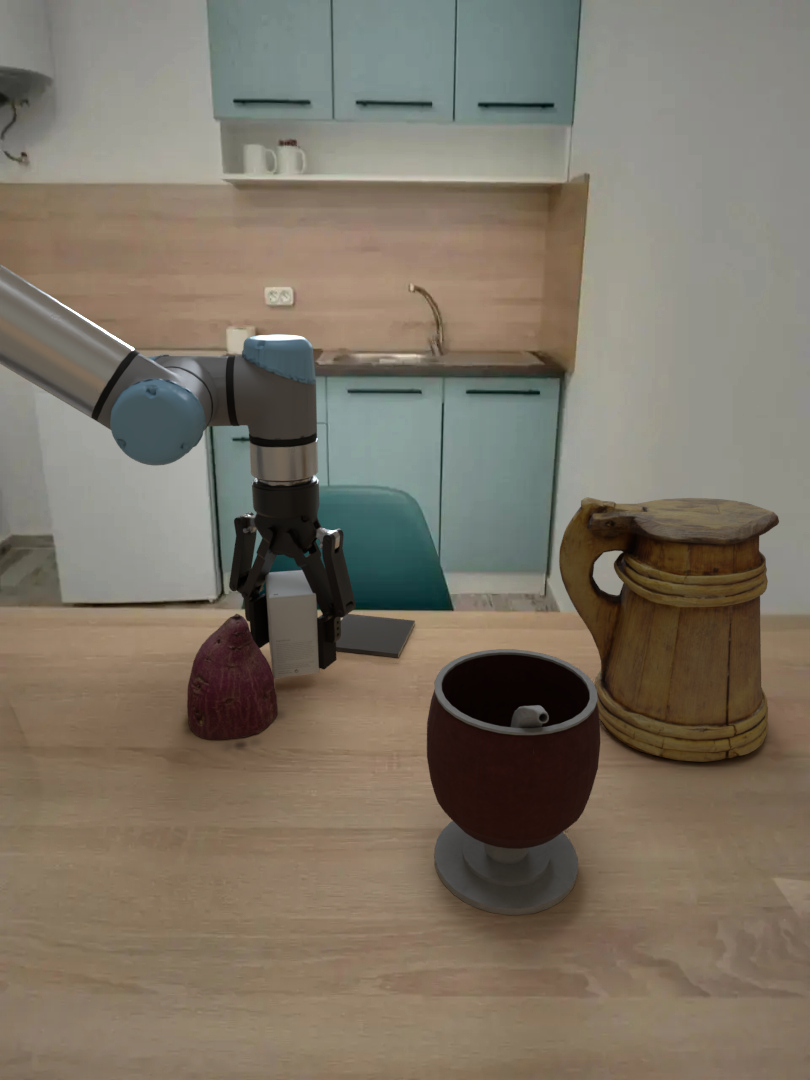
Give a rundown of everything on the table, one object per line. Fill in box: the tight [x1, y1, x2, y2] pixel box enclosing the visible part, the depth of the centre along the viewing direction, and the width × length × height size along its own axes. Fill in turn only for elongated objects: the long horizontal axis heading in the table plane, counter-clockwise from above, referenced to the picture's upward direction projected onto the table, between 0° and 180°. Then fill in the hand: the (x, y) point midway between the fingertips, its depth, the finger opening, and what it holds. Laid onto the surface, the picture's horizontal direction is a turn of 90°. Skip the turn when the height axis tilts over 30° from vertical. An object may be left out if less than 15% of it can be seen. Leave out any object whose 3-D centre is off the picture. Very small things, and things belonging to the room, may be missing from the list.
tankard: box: [558, 497, 780, 763], centre depth 89 cm, size 18×24×25 cm
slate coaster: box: [336, 613, 416, 659], centre depth 111 cm, size 10×10×1 cm
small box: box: [264, 569, 321, 679], centre depth 100 cm, size 8×6×10 cm
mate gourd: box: [426, 648, 601, 916], centre depth 67 cm, size 16×14×20 cm
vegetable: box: [186, 613, 278, 741], centre depth 90 cm, size 10×10×15 cm
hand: (293, 654), depth 101 cm, fingers closed on small box, 9 cm apart
